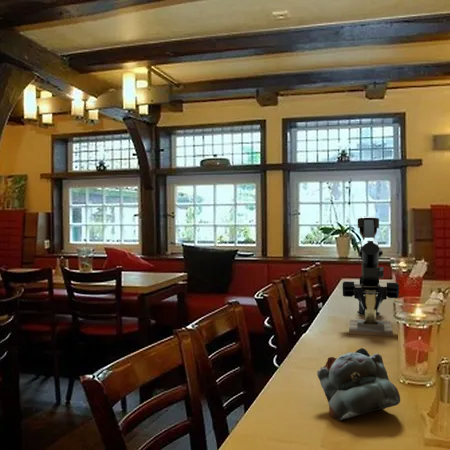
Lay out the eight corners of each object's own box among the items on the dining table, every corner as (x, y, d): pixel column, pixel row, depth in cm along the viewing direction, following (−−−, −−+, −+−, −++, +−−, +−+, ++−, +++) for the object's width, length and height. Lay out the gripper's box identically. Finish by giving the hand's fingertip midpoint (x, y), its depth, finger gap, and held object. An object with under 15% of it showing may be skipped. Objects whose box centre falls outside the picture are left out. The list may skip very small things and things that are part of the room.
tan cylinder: (364, 326, 183) (364, 289, 182) (376, 326, 182) (376, 289, 182) (364, 328, 179) (364, 290, 179) (376, 329, 178) (376, 291, 178)
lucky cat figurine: (324, 424, 102) (307, 352, 108) (333, 426, 112) (317, 361, 119) (403, 407, 99) (380, 334, 105) (404, 411, 109) (384, 345, 115)
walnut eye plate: (350, 322, 197) (350, 313, 197) (389, 323, 193) (389, 315, 193) (349, 334, 177) (349, 325, 177) (393, 336, 174) (393, 327, 174)
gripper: (342, 258, 186) (341, 294, 176) (398, 259, 181) (400, 296, 171) (343, 278, 194) (342, 313, 183) (397, 279, 189) (399, 316, 179)
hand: (370, 309), depth 179 cm, fingers closed on tan cylinder, 4 cm apart
